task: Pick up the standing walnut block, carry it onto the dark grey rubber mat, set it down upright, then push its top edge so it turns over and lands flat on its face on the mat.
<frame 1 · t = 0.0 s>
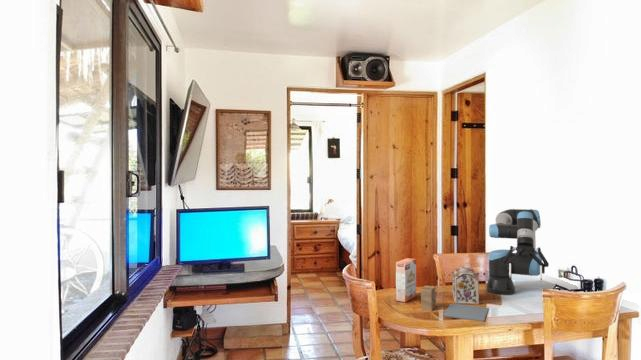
hand: (525, 278, 197), 15 cm above the table, tool tilted 35°, fingers open, 13 cm apart
cracker box: (406, 299, 217), on the table
decorative jar: (465, 301, 212), on the table
walnut block: (428, 307, 202), on the table
rubber mat: (466, 312, 193), on the table
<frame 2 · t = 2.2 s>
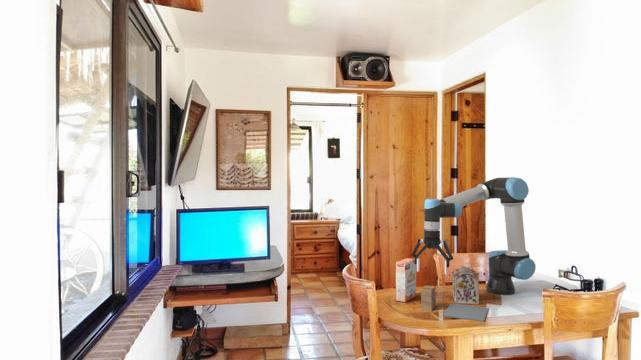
hand: (431, 272, 201), 18 cm above the table, tool pointing down, fingers open, 13 cm apart
nothing on the table moved.
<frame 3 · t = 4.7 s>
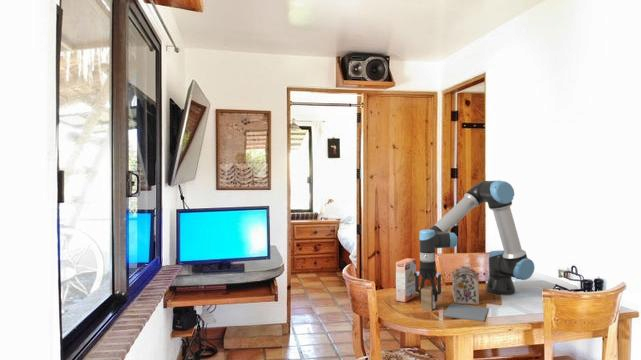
hand: (428, 306, 202), 0 cm above the table, tool pointing down, fingers closed on walnut block, 5 cm apart
walnut block: (428, 307, 202), on the table, touching gripper
everything else where it was.
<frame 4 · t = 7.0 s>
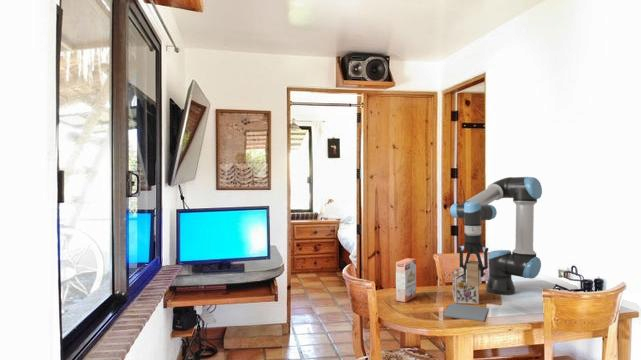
hand: (473, 282, 192), 15 cm above the table, tool pointing down, fingers closed on walnut block, 5 cm apart
walnut block: (473, 283, 192), point 14 cm above the table, touching gripper
everything else where it was.
when the fingers open (2 cm above the table, at t = 9.7 s): walnut block stays where it is, resting on rubber mat.
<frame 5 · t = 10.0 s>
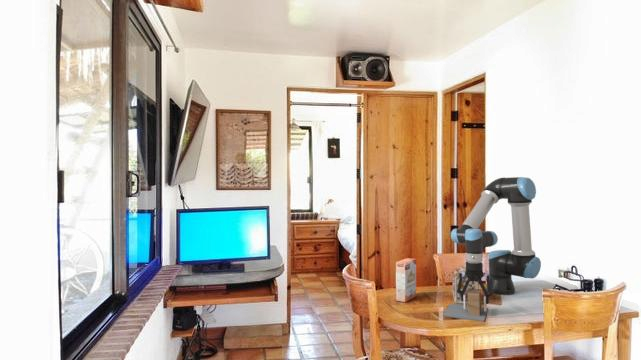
hand: (474, 309, 191), 2 cm above the table, tool pointing down, fingers open, 8 cm apart
walnut block: (475, 312, 191), point 1 cm above the table, touching rubber mat
everything else where it was.
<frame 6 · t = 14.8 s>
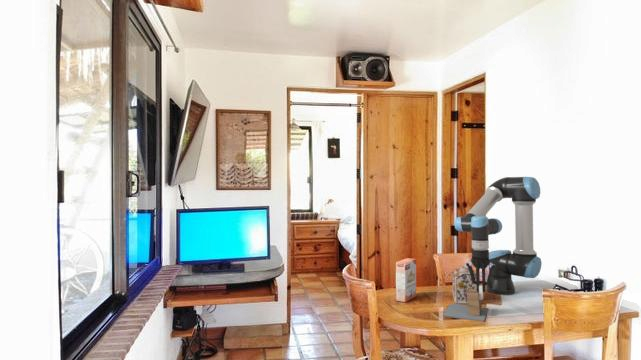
hand: (481, 298, 190), 7 cm above the table, tool pointing down, fingers closed
walnut block: (475, 312, 191), point 1 cm above the table, touching gripper, rubber mat
everything else where it was.
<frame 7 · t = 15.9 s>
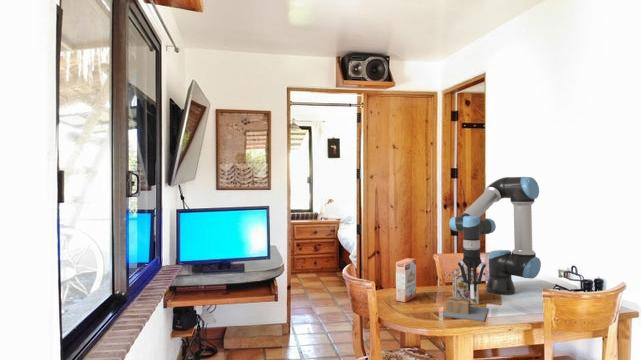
hand: (472, 297, 192), 7 cm above the table, tool pointing down, fingers closed
walnut block: (469, 306, 193), point 3 cm above the table, tilted 90°, touching rubber mat
everything else where it was.
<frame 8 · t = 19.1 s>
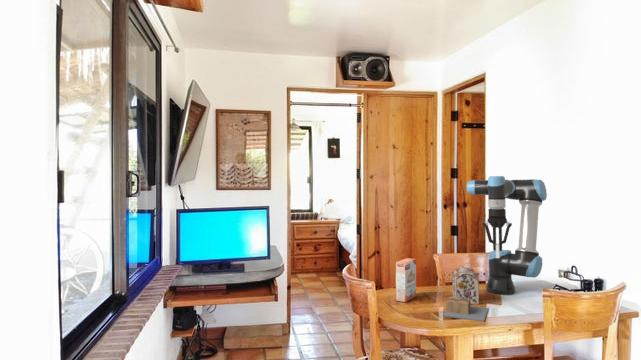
hand: (497, 257, 192), 26 cm above the table, tool pointing down, fingers closed
nothing on the table moved.
at the end: walnut block tilted 90°; walnut block inside the target area (3.0 cm from its centre), point 3.1 cm above the table; the gripper is holding nothing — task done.
